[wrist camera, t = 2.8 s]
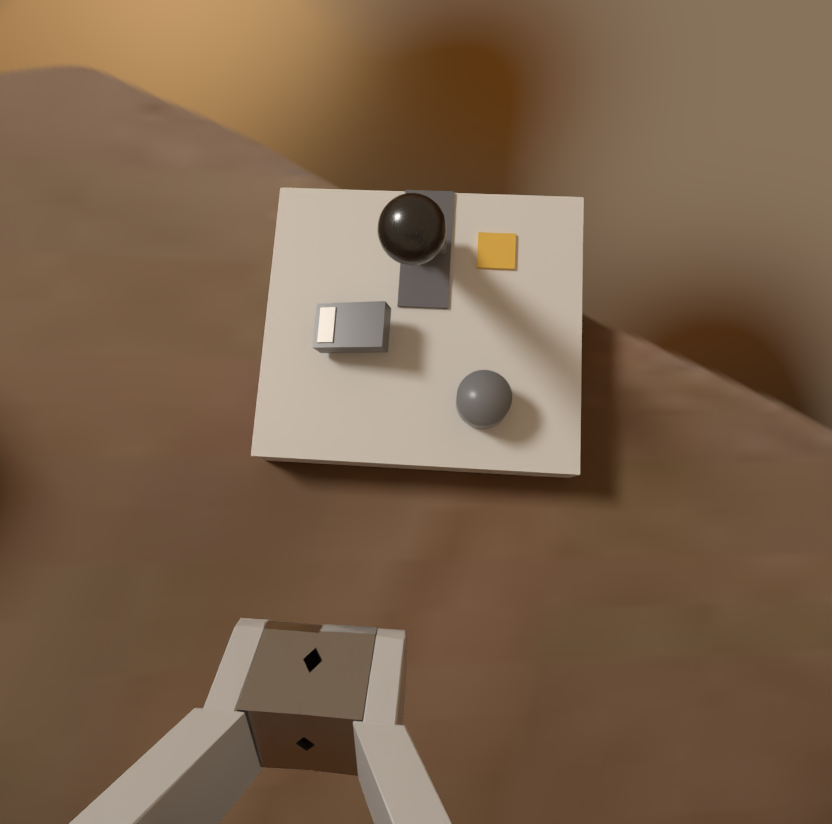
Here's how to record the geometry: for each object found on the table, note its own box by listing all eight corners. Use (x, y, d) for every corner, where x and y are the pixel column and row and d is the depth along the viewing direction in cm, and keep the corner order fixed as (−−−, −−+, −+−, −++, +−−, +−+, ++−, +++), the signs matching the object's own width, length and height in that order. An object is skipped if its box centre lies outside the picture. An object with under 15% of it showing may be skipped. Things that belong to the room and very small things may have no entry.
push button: (509, 378, 36) (513, 371, 34) (507, 430, 35) (511, 425, 33) (457, 375, 36) (458, 368, 34) (454, 427, 35) (455, 422, 34)
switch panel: (573, 220, 41) (584, 195, 38) (569, 478, 38) (581, 474, 35) (291, 210, 42) (279, 185, 39) (265, 460, 39) (249, 455, 36)
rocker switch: (391, 308, 36) (384, 300, 35) (388, 352, 35) (381, 345, 34) (324, 310, 37) (316, 303, 36) (320, 353, 37) (311, 347, 35)
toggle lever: (448, 263, 38) (444, 267, 24) (402, 261, 38) (372, 264, 24) (451, 214, 37) (448, 190, 23) (403, 213, 37) (373, 187, 24)
